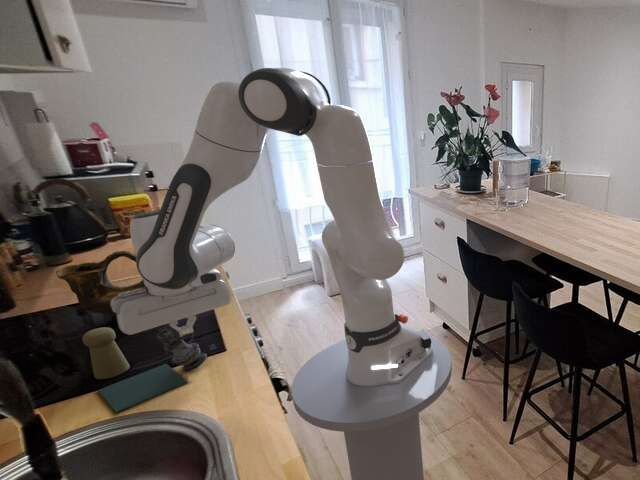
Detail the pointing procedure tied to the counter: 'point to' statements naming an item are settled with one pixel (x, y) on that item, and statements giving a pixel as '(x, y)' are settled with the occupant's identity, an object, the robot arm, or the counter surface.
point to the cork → (105, 353)
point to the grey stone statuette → (182, 350)
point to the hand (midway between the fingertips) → (185, 334)
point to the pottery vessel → (96, 284)
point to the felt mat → (141, 387)
